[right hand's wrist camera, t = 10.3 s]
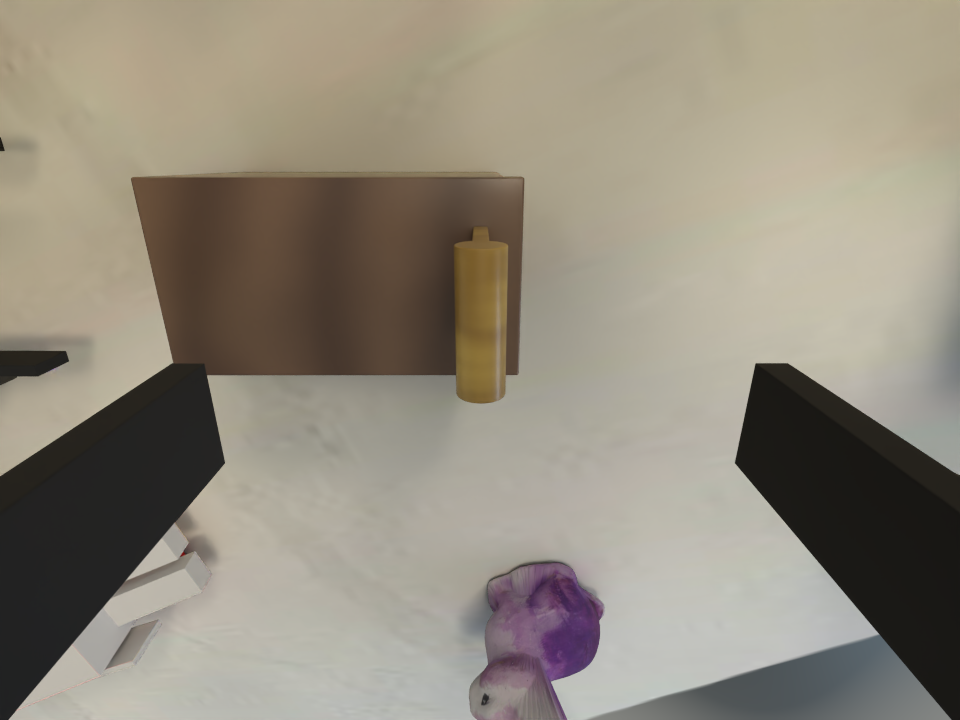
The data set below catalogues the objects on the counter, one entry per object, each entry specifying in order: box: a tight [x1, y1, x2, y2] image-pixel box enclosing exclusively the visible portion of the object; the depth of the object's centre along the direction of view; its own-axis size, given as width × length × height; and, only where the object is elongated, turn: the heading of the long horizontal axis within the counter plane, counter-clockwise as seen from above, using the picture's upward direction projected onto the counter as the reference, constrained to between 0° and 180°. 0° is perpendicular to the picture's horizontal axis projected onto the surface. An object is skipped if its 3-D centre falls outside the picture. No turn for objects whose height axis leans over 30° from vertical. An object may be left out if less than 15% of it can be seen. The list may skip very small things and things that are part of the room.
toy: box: [16, 523, 212, 711], centre depth 43 cm, size 12×13×30 cm
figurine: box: [469, 562, 605, 720], centre depth 42 cm, size 9×10×15 cm
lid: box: [131, 177, 524, 403], centre depth 23 cm, size 18×10×9 cm, turn 90°
